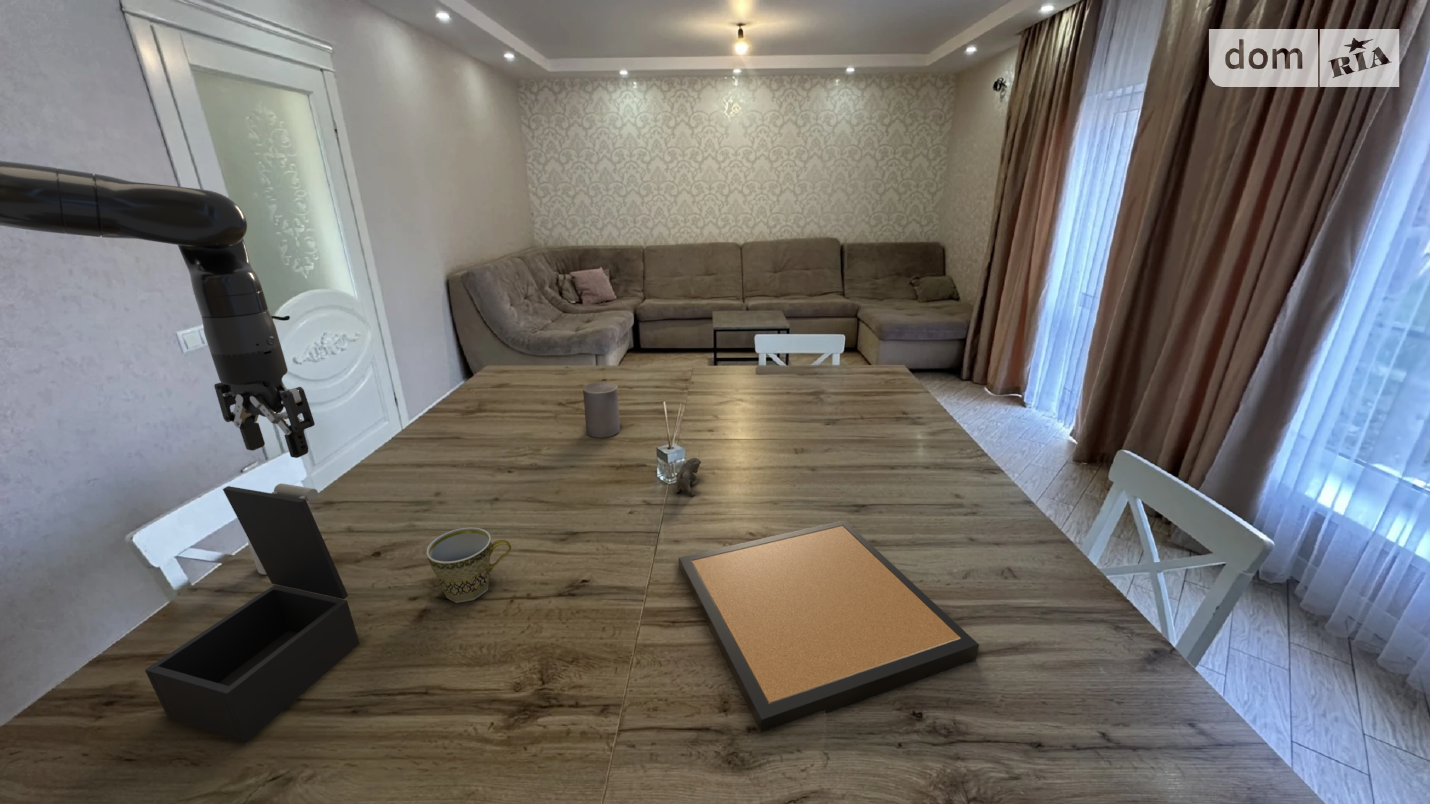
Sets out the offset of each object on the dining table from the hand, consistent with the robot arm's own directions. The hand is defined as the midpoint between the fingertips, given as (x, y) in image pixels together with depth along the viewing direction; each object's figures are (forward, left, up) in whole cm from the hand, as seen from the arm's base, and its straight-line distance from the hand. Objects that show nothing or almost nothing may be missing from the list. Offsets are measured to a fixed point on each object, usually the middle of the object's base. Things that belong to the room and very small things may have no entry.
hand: (278, 451), depth 81 cm
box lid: (-6, -5, -11) cm, 14 cm away
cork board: (+21, -78, -30) cm, 86 cm away
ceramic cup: (+11, -21, -30) cm, 38 cm away
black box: (-13, -5, -29) cm, 33 cm away
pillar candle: (+80, -12, -30) cm, 86 cm away
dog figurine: (+55, -46, -30) cm, 77 cm away
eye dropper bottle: (+7, +19, -30) cm, 36 cm away
